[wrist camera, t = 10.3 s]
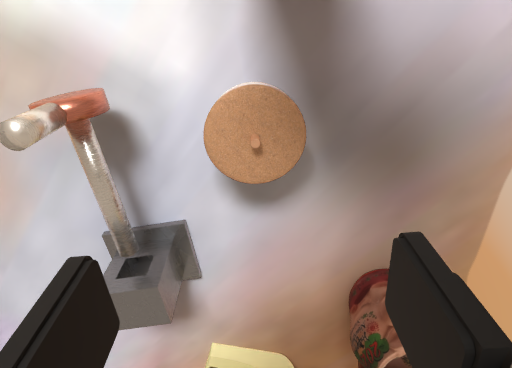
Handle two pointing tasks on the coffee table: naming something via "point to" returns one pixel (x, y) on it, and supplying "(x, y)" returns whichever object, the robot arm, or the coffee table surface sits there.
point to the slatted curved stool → (244, 358)
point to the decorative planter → (374, 324)
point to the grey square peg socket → (150, 274)
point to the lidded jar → (254, 133)
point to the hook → (86, 145)
